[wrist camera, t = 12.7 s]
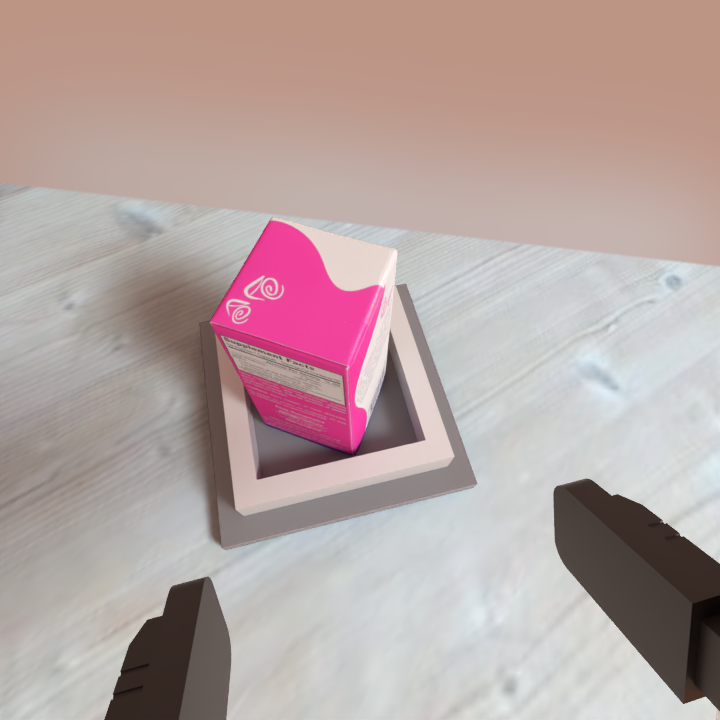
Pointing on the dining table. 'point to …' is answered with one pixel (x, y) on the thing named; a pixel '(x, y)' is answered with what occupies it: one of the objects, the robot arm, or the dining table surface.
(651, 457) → the dining table surface
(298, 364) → the supplement box
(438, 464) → the socket
